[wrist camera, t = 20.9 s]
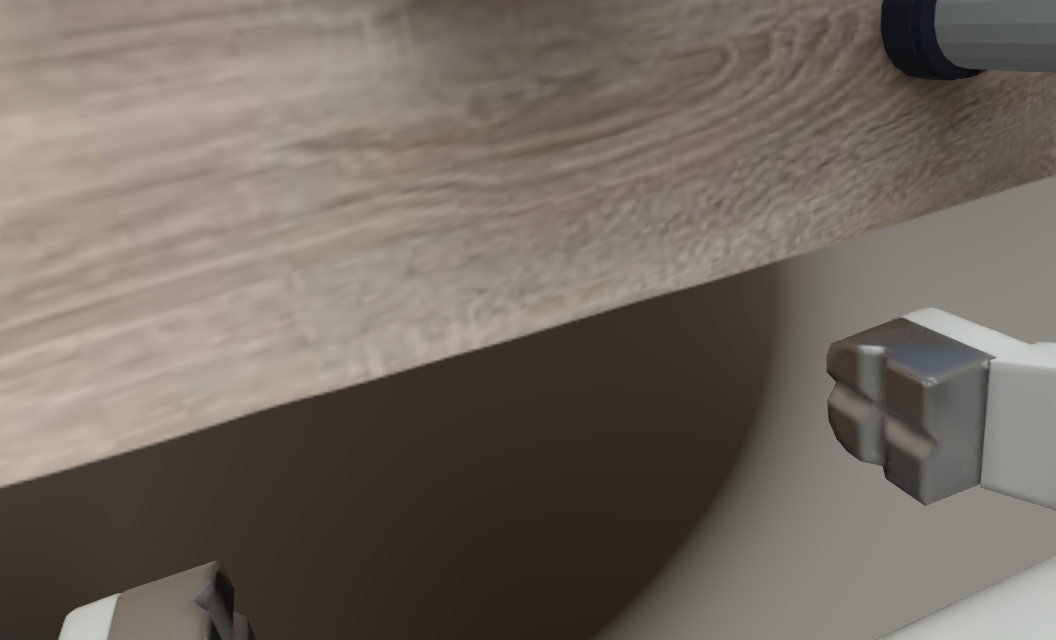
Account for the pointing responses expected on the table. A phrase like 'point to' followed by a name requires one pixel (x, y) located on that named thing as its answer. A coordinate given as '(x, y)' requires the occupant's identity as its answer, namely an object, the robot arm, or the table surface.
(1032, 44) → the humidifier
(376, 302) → the table surface
